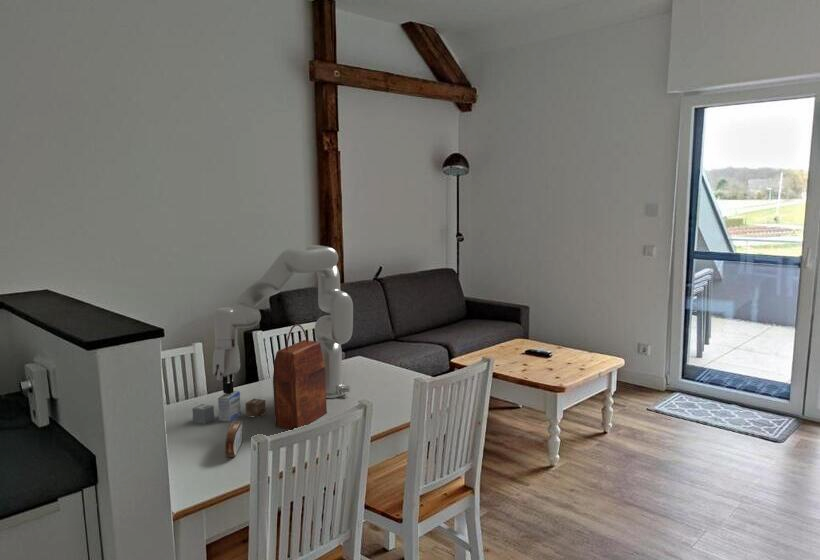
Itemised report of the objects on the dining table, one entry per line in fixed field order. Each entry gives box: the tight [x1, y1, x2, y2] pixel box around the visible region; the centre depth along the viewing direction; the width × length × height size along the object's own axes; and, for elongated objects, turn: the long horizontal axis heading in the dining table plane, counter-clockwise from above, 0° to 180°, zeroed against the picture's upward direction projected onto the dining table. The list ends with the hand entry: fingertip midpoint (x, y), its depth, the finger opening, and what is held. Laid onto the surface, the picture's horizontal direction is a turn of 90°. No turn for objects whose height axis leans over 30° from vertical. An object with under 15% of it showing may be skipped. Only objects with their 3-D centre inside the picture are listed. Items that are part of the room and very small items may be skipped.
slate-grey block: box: [192, 403, 215, 425], centre depth 208 cm, size 5×5×5 cm
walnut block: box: [245, 398, 267, 418], centre depth 213 cm, size 5×5×5 cm
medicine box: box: [217, 390, 242, 422], centre depth 210 cm, size 8×4×9 cm, turn 168°
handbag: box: [272, 323, 328, 430], centre depth 206 cm, size 10×19×35 cm, turn 155°
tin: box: [224, 420, 244, 458], centre depth 182 cm, size 15×3×8 cm, turn 5°
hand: (228, 392), depth 209 cm, fingers closed
